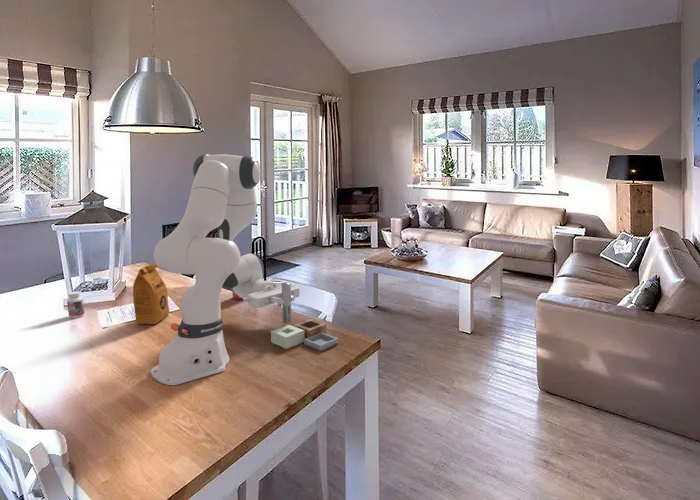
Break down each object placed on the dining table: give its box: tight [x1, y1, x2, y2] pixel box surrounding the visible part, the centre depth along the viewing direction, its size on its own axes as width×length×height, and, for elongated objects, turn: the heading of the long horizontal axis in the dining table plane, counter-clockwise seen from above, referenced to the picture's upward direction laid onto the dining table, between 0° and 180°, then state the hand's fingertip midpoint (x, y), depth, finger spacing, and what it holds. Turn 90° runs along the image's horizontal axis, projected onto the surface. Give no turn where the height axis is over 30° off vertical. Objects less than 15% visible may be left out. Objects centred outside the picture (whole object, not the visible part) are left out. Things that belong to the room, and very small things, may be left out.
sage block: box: [270, 324, 305, 350], centre depth 154 cm, size 8×8×4 cm
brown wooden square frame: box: [293, 318, 328, 339], centre depth 160 cm, size 8×8×4 cm
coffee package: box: [132, 262, 170, 326], centre depth 173 cm, size 10×12×22 cm
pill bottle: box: [66, 290, 86, 319], centre depth 180 cm, size 5×5×10 cm
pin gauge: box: [281, 281, 293, 324], centre depth 161 cm, size 3×3×14 cm
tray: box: [303, 332, 339, 352], centre depth 152 cm, size 8×8×2 cm
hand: (288, 300), depth 160 cm, fingers closed on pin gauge, 3 cm apart
